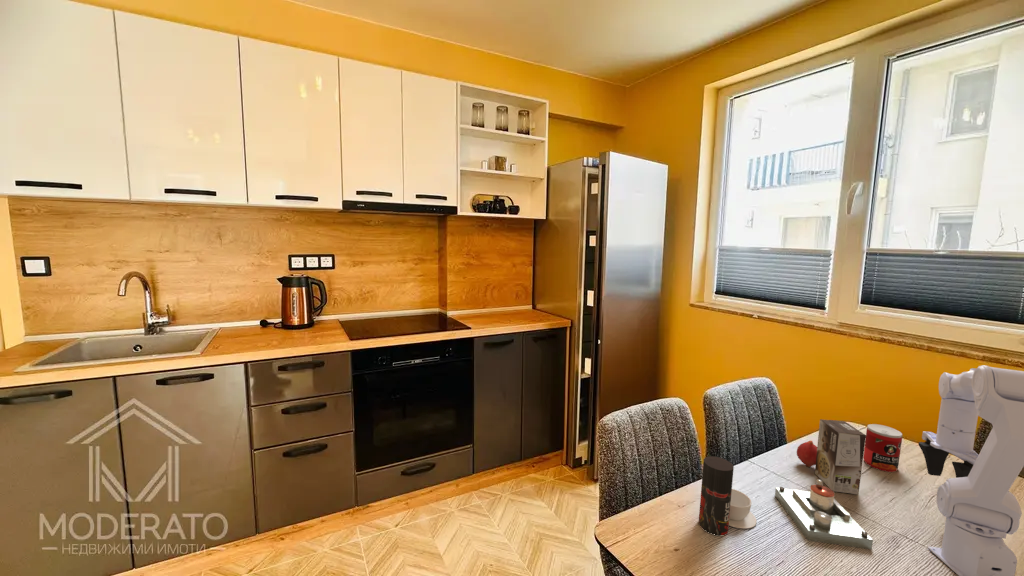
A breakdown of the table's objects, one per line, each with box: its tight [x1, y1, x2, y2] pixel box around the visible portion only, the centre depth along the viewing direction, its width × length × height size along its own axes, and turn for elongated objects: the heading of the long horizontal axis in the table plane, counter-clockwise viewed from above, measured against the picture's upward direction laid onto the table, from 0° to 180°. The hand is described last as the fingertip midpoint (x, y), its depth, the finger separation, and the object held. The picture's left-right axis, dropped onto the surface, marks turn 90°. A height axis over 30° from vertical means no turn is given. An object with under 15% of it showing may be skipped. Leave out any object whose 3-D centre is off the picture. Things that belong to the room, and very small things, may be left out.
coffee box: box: [814, 418, 866, 495], centre depth 108 cm, size 9×6×16 cm
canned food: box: [863, 423, 903, 473], centre depth 118 cm, size 8×8×11 cm
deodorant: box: [698, 456, 735, 536], centre depth 90 cm, size 6×6×15 cm
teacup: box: [728, 488, 757, 529], centre depth 94 cm, size 10×10×5 cm
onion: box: [796, 439, 817, 468], centre depth 117 cm, size 6×6×8 cm
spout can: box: [809, 478, 836, 515], centre depth 95 cm, size 4×4×8 cm
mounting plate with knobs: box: [774, 486, 874, 550], centre depth 93 cm, size 16×12×4 cm
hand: (948, 484), depth 92 cm, fingers open, 7 cm apart
